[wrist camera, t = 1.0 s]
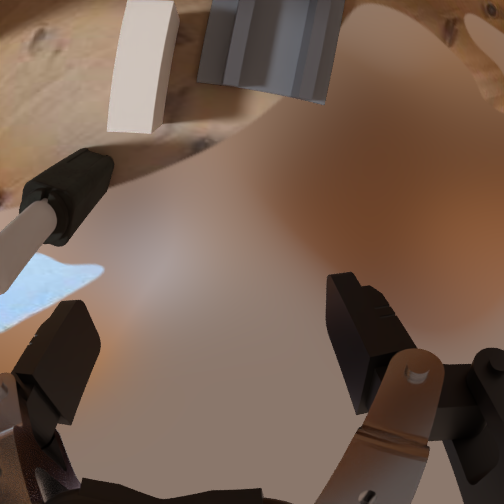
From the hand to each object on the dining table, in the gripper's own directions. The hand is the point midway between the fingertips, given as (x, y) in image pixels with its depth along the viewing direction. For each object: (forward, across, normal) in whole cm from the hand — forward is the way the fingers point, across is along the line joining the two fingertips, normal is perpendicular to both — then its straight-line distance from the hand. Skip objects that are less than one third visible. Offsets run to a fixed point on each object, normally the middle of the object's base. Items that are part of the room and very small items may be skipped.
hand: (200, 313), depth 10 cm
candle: (+26, +16, -2) cm, 30 cm away
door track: (+27, -8, -19) cm, 34 cm away
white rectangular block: (+26, +6, -11) cm, 29 cm away
